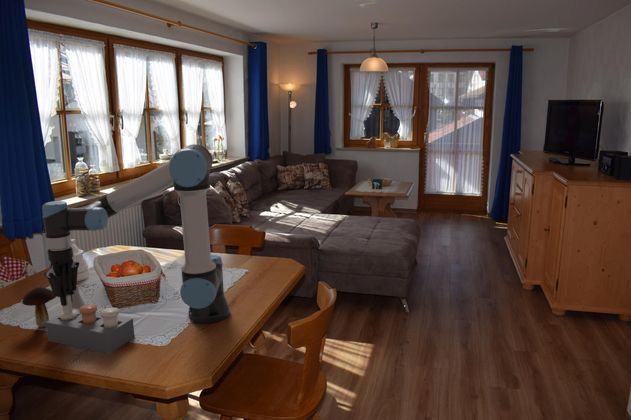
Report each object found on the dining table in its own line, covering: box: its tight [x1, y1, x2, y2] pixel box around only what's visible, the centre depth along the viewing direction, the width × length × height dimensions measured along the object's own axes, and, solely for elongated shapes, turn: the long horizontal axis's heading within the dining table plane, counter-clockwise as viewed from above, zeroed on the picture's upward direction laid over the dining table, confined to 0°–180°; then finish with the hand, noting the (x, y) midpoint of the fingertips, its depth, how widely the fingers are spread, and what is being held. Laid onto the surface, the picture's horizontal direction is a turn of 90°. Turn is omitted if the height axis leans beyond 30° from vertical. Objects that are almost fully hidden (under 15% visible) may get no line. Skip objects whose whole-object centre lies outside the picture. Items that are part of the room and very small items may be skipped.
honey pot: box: [71, 238, 90, 282], centre depth 235 cm, size 13×13×18 cm
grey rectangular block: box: [46, 308, 135, 354], centre depth 178 cm, size 26×12×7 cm, turn 70°
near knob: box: [99, 307, 120, 329], centre depth 174 cm, size 6×6×8 cm
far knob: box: [59, 310, 78, 321], centre depth 181 cm, size 6×6×8 cm
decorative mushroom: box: [21, 286, 57, 328], centre depth 187 cm, size 11×11×15 cm
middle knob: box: [79, 303, 98, 325], centre depth 177 cm, size 6×6×8 cm
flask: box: [72, 284, 87, 309], centre depth 201 cm, size 7×7×10 cm
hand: (68, 312), depth 180 cm, fingers closed
